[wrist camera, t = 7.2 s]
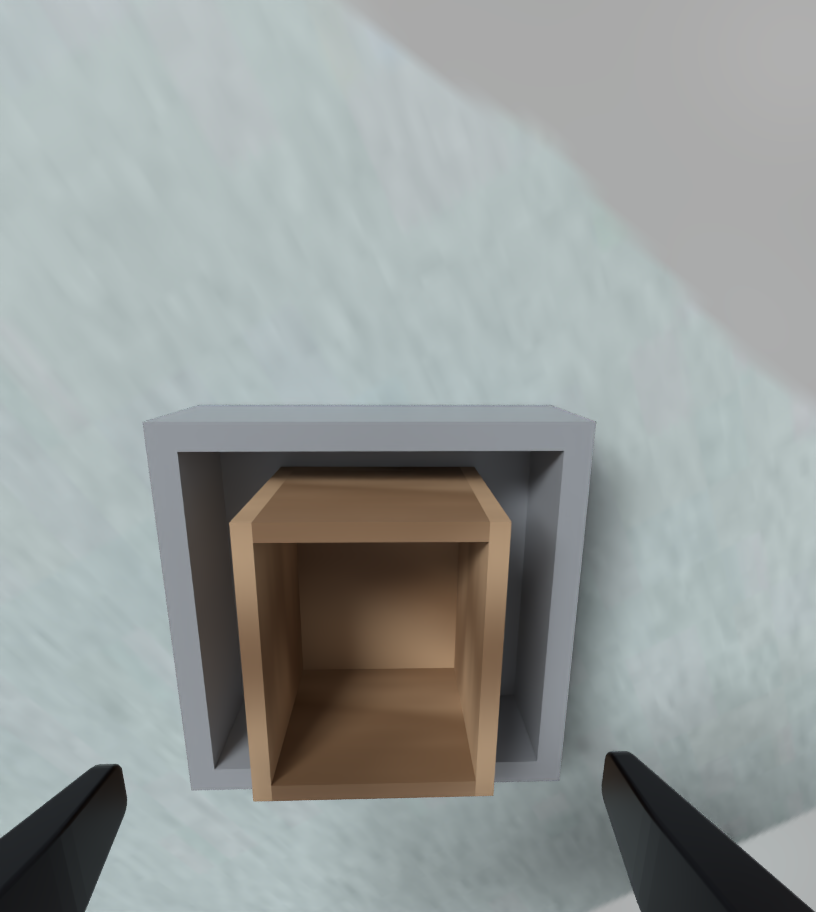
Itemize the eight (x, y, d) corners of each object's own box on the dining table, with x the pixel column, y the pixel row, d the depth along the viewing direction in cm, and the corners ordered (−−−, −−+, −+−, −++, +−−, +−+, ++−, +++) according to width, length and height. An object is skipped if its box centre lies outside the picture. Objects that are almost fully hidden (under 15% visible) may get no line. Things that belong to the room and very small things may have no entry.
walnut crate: (464, 670, 17) (493, 796, 12) (292, 672, 17) (253, 801, 12) (474, 466, 15) (511, 521, 11) (281, 466, 15) (229, 523, 10)
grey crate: (528, 700, 18) (559, 780, 15) (229, 706, 18) (191, 790, 15) (551, 405, 16) (596, 421, 12) (198, 405, 15) (142, 421, 12)
